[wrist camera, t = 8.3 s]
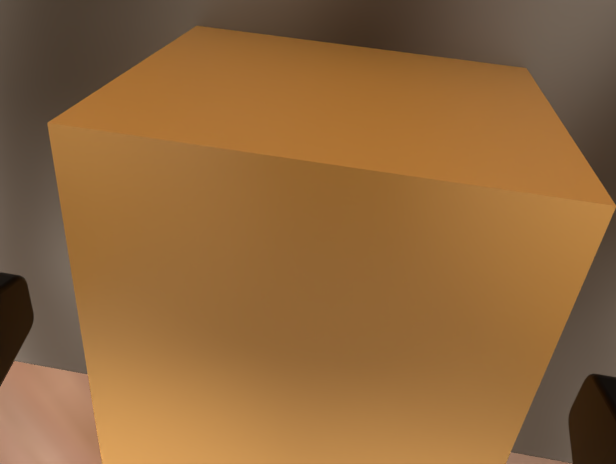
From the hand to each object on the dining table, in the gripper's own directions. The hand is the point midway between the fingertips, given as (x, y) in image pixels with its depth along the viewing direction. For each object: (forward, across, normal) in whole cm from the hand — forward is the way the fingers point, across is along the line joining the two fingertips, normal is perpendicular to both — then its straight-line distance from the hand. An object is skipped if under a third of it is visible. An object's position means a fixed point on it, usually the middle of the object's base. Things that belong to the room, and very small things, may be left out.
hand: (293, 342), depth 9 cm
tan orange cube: (+6, 0, 0) cm, 6 cm away
